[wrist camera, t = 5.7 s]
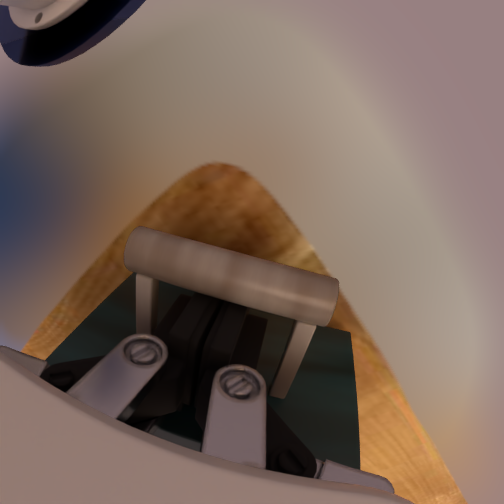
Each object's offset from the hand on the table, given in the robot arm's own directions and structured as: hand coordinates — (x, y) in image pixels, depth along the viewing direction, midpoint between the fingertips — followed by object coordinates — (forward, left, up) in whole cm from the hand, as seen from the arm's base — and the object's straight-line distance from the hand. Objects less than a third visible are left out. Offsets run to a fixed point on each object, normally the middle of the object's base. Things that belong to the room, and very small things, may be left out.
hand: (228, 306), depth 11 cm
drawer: (+6, 0, -3) cm, 7 cm away
